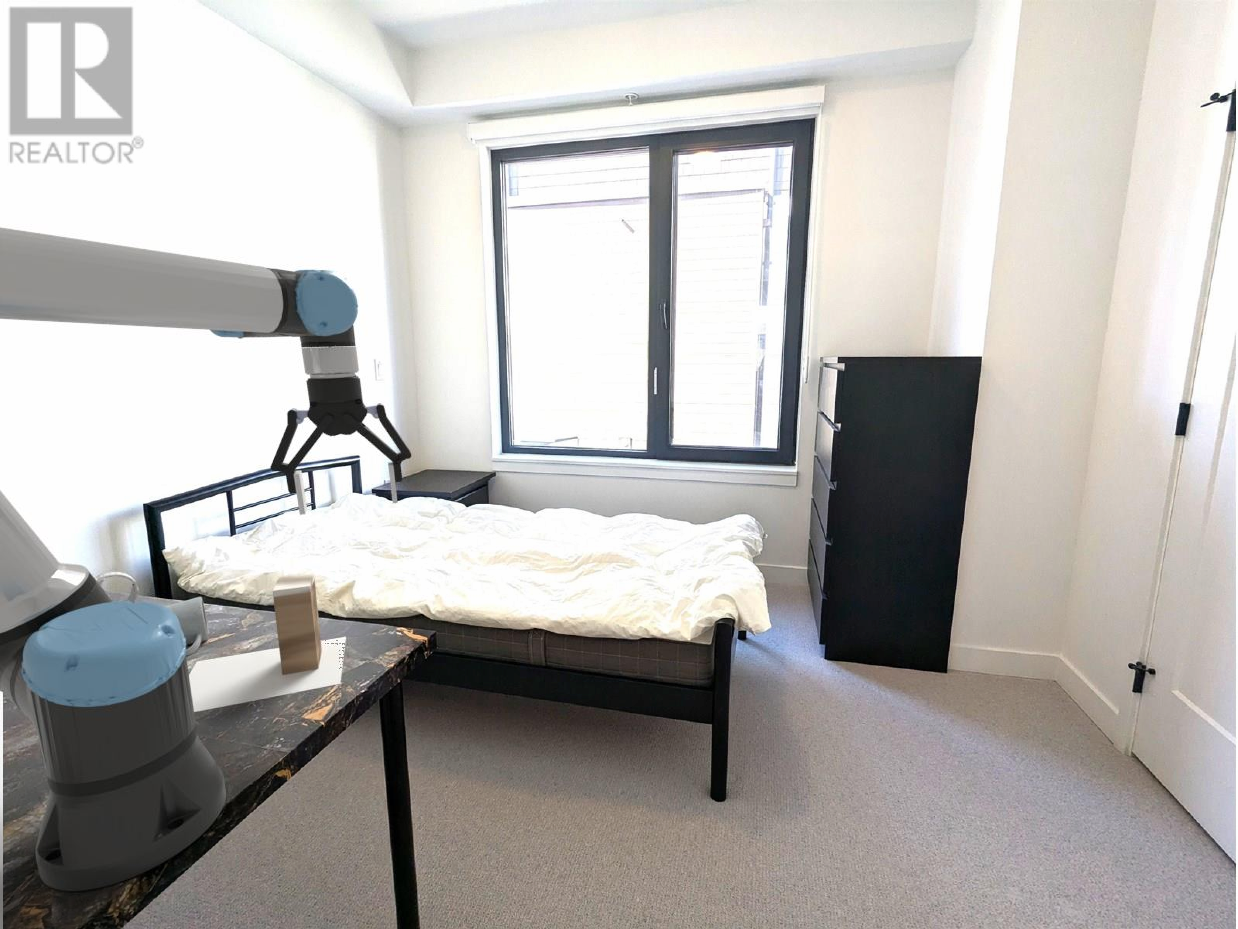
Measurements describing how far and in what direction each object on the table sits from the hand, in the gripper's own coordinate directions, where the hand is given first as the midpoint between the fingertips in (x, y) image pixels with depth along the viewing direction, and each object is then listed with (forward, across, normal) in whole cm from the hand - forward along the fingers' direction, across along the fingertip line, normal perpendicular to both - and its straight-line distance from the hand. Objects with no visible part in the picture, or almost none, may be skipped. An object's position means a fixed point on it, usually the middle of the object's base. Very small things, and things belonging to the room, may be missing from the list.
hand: (350, 506), depth 92 cm
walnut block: (+24, +10, +3) cm, 26 cm away
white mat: (+25, +15, +4) cm, 29 cm away
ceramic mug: (+25, +30, -12) cm, 40 cm away
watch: (+24, +43, -23) cm, 55 cm away
